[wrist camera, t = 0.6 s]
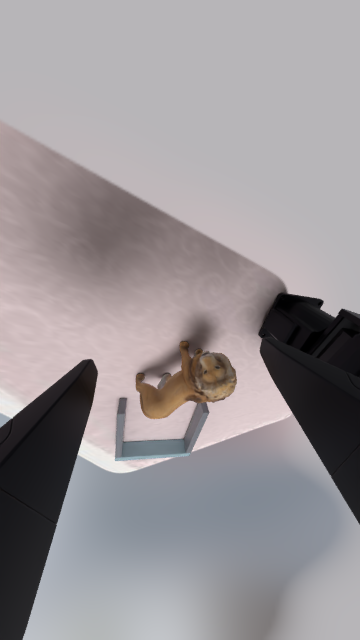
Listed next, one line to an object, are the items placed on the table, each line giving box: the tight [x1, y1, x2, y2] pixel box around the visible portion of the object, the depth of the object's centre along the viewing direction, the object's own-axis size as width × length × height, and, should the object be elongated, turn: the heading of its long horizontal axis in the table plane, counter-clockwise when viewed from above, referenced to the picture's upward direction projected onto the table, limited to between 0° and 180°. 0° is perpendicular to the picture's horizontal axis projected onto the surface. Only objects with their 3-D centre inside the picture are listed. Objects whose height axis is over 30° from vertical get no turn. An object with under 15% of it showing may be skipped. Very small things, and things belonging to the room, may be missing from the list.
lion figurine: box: [136, 341, 237, 419], centre depth 21 cm, size 15×5×9 cm, turn 137°
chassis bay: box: [115, 398, 209, 461], centre depth 31 cm, size 14×14×2 cm
